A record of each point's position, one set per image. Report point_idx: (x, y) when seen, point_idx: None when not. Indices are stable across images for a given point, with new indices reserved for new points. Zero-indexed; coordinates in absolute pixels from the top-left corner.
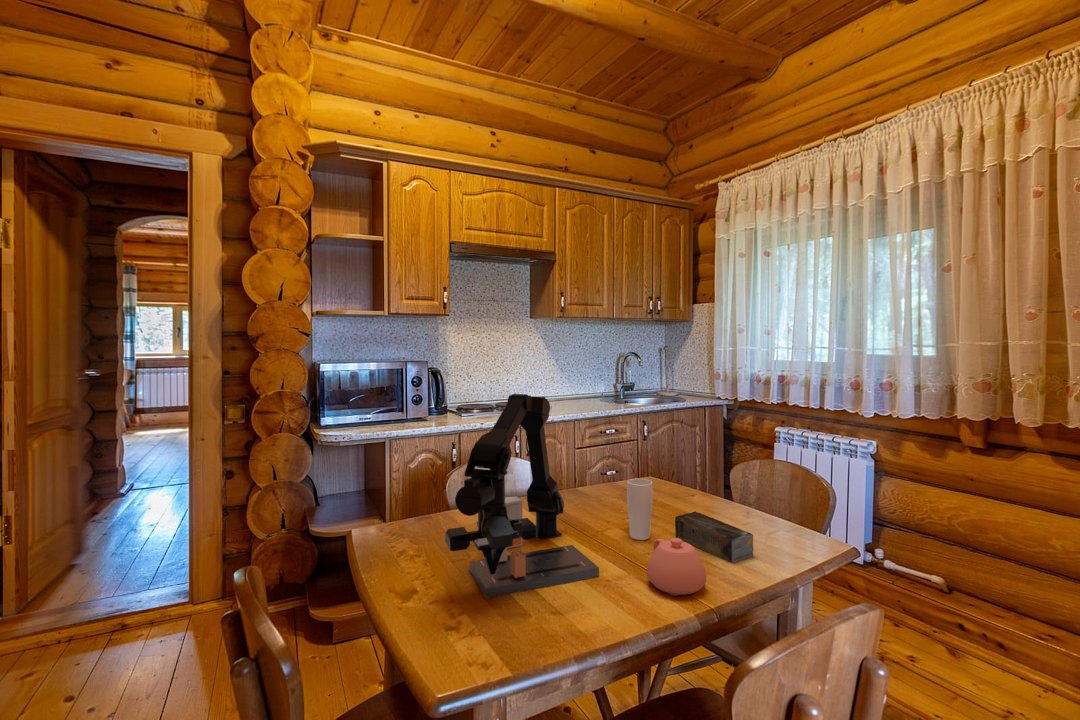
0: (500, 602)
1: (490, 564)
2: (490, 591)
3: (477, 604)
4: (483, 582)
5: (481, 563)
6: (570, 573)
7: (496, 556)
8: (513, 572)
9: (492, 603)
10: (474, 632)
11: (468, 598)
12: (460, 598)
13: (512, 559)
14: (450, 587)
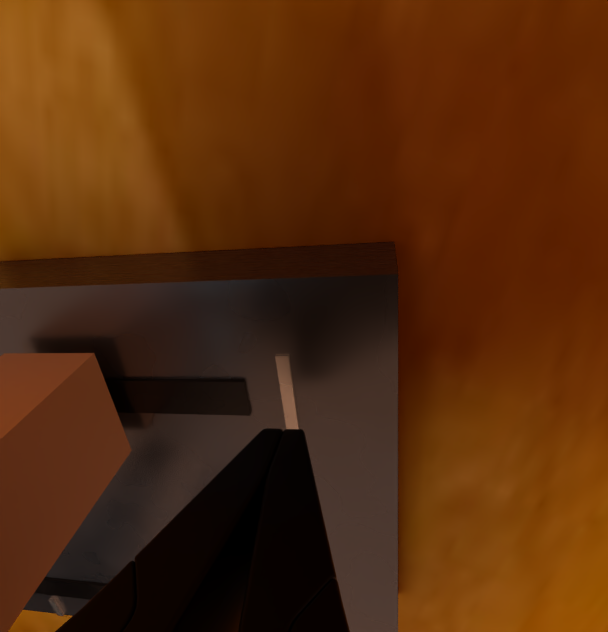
0: (286, 124)
1: (291, 521)
2: (349, 262)
3: (504, 154)
4: (385, 391)
5: None
6: None
7: (151, 627)
8: (89, 409)
9: (361, 128)
10: None
11: (538, 289)
12: (604, 311)
13: (12, 530)
14: (597, 481)
